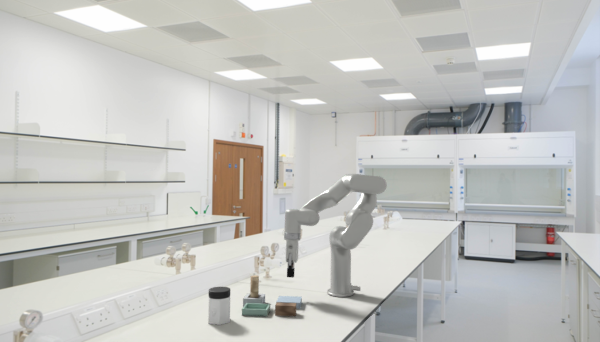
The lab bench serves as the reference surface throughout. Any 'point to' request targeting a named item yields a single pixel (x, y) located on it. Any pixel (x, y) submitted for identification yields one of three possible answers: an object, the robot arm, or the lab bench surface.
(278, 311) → the block
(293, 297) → the board
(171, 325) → the lab bench surface
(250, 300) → the socket block
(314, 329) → the lab bench surface
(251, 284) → the dowel
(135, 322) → the lab bench surface
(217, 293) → the jar
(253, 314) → the tray
